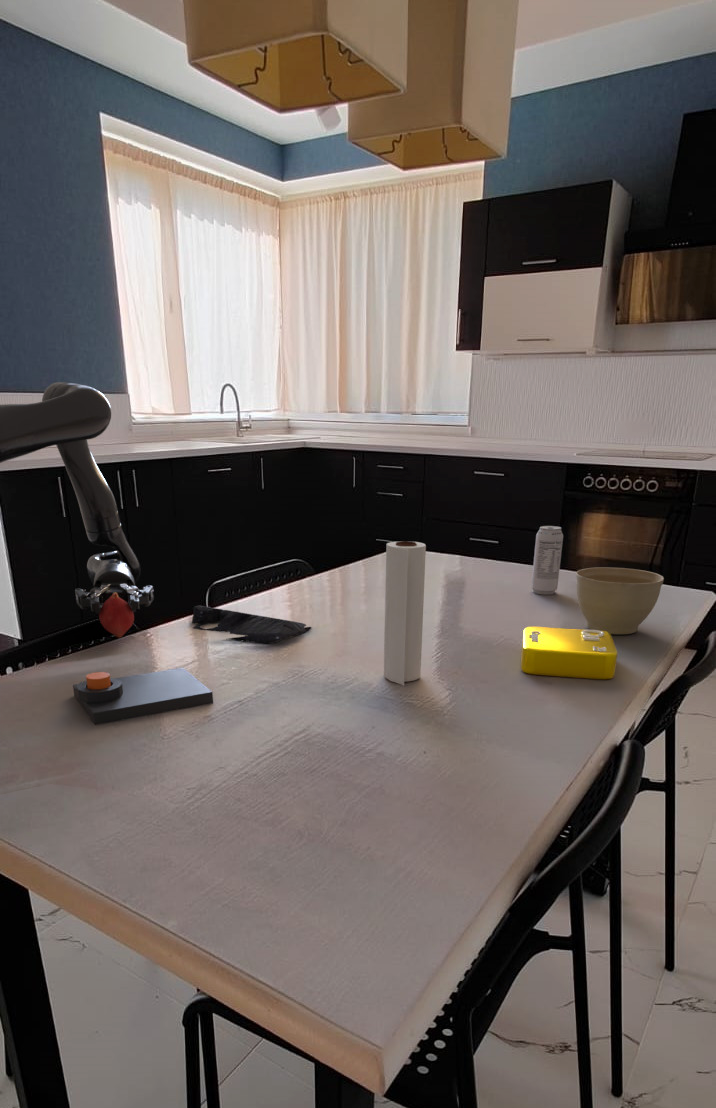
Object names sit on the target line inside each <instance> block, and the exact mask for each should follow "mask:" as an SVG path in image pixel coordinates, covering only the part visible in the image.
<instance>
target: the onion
mask: <svg viewBox="0 0 716 1108" xmlns="http://www.w3.org/2000/svg"><path fill="white" fill-rule="evenodd" d="M98 619H99V622H100V624H101V626H102V627H103V628H104V629H105V631H107V632H108V633H110V634H111V635H113V636H115V637H116V638H122V637H123V636H124V635H125V634H126V633H127V632H128V631H129V630H130V628H131V627H132V626H133V624H134V622H135V613H134V612H132V610H131V607H130V605H129V604H128V603H127V602H126V601H124V600H123V599H121V598H119V597H118V594H117V593H116V592H115V593H113V595H112V596H111V597H110V598H109V599H107V600H106V601H105V603H104V604H103V606H102V608H101V609H100V614H98Z"/></svg>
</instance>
